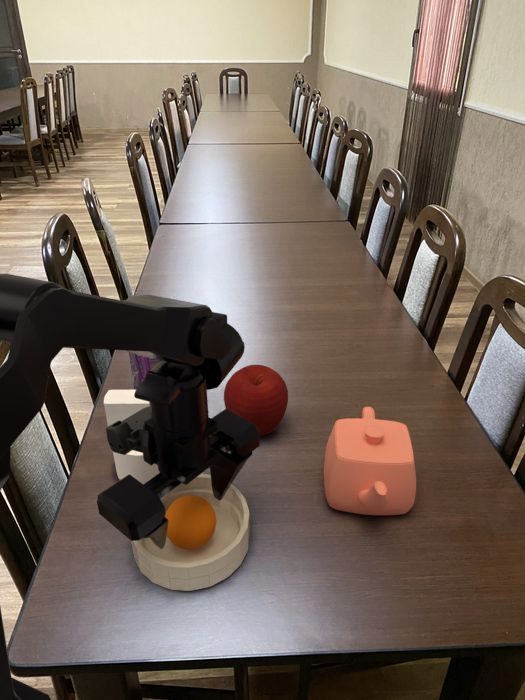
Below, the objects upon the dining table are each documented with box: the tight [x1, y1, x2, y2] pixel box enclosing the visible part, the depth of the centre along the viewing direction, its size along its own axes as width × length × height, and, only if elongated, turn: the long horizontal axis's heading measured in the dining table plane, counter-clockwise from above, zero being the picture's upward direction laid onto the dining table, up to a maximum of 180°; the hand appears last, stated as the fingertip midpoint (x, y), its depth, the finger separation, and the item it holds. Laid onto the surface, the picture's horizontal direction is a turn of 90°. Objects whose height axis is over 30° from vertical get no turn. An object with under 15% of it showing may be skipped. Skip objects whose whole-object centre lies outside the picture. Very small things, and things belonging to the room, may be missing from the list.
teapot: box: [323, 406, 417, 516], centre depth 68 cm, size 12×18×10 cm, turn 175°
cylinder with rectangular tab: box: [103, 389, 160, 484], centre depth 72 cm, size 9×9×12 cm
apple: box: [223, 364, 289, 437], centre depth 80 cm, size 10×10×10 cm
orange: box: [165, 495, 216, 549], centre depth 62 cm, size 6×6×6 cm
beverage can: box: [128, 352, 163, 390], centre depth 85 cm, size 7×7×12 cm
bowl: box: [130, 473, 251, 592], centre depth 63 cm, size 14×14×4 cm
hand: (190, 521), depth 62 cm, fingers open, 9 cm apart
